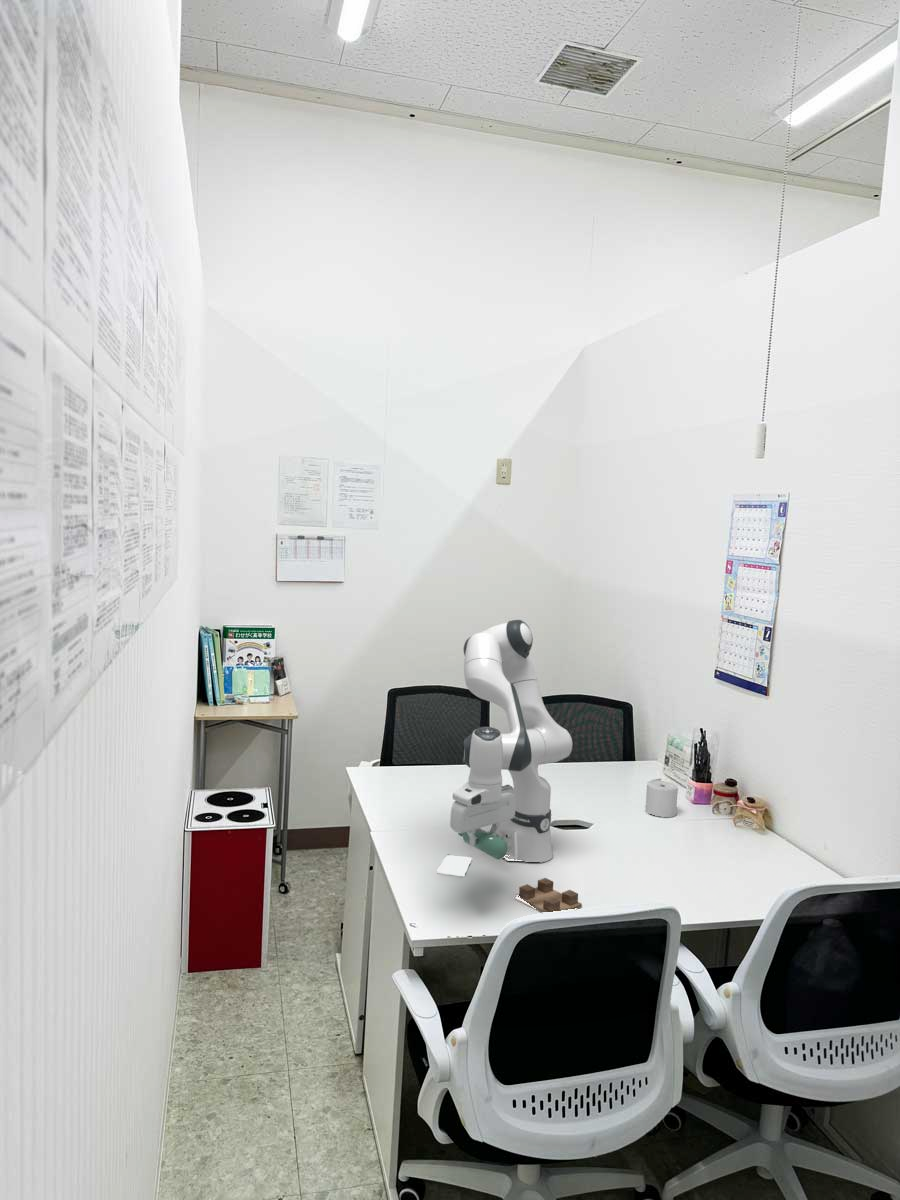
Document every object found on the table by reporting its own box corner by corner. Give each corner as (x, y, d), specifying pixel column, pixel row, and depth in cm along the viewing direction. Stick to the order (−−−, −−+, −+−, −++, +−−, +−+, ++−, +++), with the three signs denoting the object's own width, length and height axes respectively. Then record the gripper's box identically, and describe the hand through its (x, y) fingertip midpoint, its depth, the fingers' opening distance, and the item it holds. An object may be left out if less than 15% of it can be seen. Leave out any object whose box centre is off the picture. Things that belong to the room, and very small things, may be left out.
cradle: (514, 898, 225) (515, 886, 225) (543, 888, 232) (544, 876, 232) (552, 918, 215) (553, 905, 214) (581, 907, 222) (582, 894, 221)
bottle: (506, 858, 217) (508, 839, 217) (492, 860, 214) (494, 841, 214) (467, 838, 229) (470, 820, 228) (453, 840, 225) (456, 822, 225)
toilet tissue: (658, 819, 289) (659, 791, 288) (636, 808, 300) (638, 780, 299) (682, 816, 294) (684, 788, 293) (660, 804, 305) (662, 778, 304)
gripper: (505, 780, 228) (503, 829, 230) (447, 794, 215) (445, 846, 216) (521, 786, 223) (519, 836, 225) (463, 801, 210) (461, 854, 212)
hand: (482, 841), depth 220 cm, fingers closed on bottle, 5 cm apart
